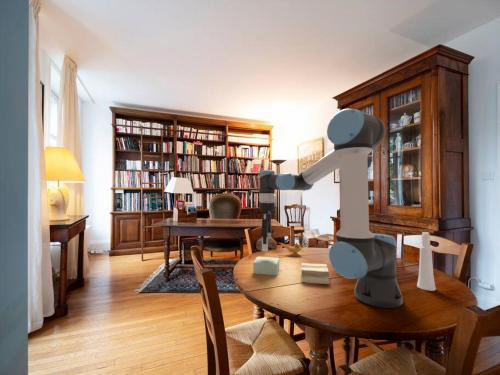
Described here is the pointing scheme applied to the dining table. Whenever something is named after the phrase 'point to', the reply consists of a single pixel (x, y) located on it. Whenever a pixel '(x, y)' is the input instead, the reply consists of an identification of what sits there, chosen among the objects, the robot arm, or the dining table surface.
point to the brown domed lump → (271, 244)
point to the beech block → (315, 273)
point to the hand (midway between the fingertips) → (266, 248)
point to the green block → (266, 265)
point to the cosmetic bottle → (426, 265)
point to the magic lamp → (294, 248)
